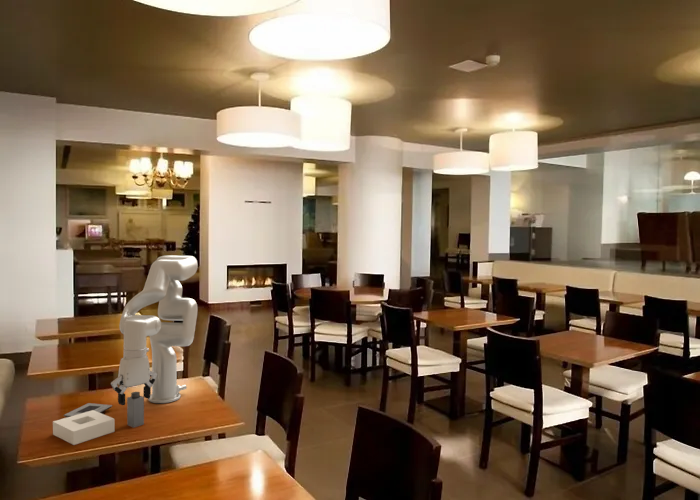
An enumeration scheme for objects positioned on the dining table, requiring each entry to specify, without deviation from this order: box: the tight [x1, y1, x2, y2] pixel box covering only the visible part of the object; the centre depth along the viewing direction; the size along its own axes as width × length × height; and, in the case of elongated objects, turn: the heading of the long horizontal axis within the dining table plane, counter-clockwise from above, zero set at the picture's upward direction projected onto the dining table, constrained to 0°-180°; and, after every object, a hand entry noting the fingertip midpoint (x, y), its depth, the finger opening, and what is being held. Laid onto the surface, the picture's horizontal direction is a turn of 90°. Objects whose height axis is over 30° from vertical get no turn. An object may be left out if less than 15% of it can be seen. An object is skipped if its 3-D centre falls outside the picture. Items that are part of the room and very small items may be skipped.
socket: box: [52, 410, 116, 446], centre depth 179 cm, size 14×14×4 cm
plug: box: [126, 391, 145, 429], centre depth 187 cm, size 4×4×12 cm
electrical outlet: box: [63, 402, 113, 418], centre depth 196 cm, size 13×10×2 cm
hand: (134, 401), depth 186 cm, fingers open, 9 cm apart
